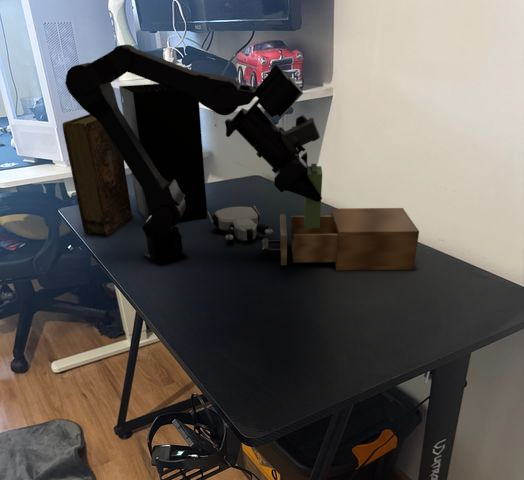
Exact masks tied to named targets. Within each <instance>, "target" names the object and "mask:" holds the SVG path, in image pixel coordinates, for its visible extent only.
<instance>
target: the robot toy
mask: <svg viewBox="0 0 524 480" xmlns="http://www.w3.org/2000/svg"><path fill="white" fill-rule="evenodd" d="M207 216H208V217H209V220H210V223H211V224H213V225H214V226H215V227H216V228H218V229H219V230H221V231H225V236H224V237H225V240H226V241H227V240H229V241H233V240H235V239H234V238H236V239H238V241H239V242H240V241H241V242H243V241H251V240H255V239H256V237H257V234H258V233H259V234H261V235H263V236H264V235H265V236H266V235H269V236H270V235H271V234H273V233H274V231H273V229H272V228H269V226H268V225H266V224H263V223H261V224H258V223H259V222H260V219H261V214H260V213H259V210H258V209H257V207H256V205H253V207H250V206H229V207H223V208H221V209H217V210H216V211H215V212H214V214H213V215H212V216H211V215H210V212H209V211H207Z"/></svg>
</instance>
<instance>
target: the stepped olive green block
mask: <svg viewBox="0 0 524 480" xmlns="http://www.w3.org/2000/svg"><path fill="white" fill-rule="evenodd" d="M308 177H309V178H310V180H311V181H312V183H313V184H314V186H315V187H316V189H317V190H318V192H319V193H320V195H321V196H322V189H323V168H322V165H317V163H311V164H310V165H308ZM321 206H322V200H320V201H319V202H316V201H314V200H311V199H309V198H306V197H304V215H303V216H304V228H320V216H321V209H322V208H321Z"/></svg>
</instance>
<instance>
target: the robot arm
mask: <svg viewBox="0 0 524 480" xmlns="http://www.w3.org/2000/svg"><path fill="white" fill-rule="evenodd" d="M126 73H129V74H132V75H135V76H138V77H140V78H143V79H146V80H148V81H151V82H154V83H155V84H161V85H164V86H167V87H169V88H172V89H175V90H177V91H180V92H183V93H185V94H188V95H189V96H191V97H193V98H194V99H196V100H197V101H198V102H199V104H200V105H202V106H204V107H205V108H207V109H209V110H211V111H212V112H214V113H215V114H217V115H220V116H228V115H231V114H233V113H235V112H236V111H237V109H238V108H239V107H242V108H241V109H240V110H239V111H238V112H237V113H236V115H234V117H232V118H231V119H230V118H227V119H225V121H224V126H225V136H226V137H227V138H229V137H231V136H232V135H233V134H234V132H237V133H238V134H239V135H240V136H241V137H242V138H243V139H244V140H245V141H246V142H247V143H248V145H250V146H251V147H252V148H253V149H254V150H255V151H256V153H255V154H256V156H258V158H259V159H261V158H262V159H263V160H264V161H265V162H266V163H267V164H268V165H269V166H270V167H271V171H272V172H273V173H274V179H273V180H274V181H273V182H274V187H275V188H277V190H278V191H279V192H280V193H283V192H289V193H293V194H296V195H298V196H301V197H303V198H305V197H306V198H309V199H311V200H314V201H316V202H319V201H320V200H321V201H322V200H323V197H322V194H321V195H320V193H319V192H318V190H317V189H316V187H315V186H314V184H313V183H312V181H311V180H310V178H309V177H308V166H309V164H308V151H306V149H307V148H306V146H305V145H307V144H308V143H311V142H315V141H317V140H319V139H320V138H321V135H320V131H319V128H318V126H317V124H316V120H315V119H314V117H309V118H307V117H306V116H305V115H304V114H302V115H299V116H298V117H296V118H295V125H294V126H293V125H292V127H291V128H289V129H288V130H285V128H283V127H282V126H277V125H276V124H275V123H274V122H273V121H272V119H270V117H271V118H274V117H276V116H278V117H280V118H282V117H283V116H284V115H285V114H286V113H287V112H288V111H289V110H290V108H291V107H292V106H294V104H295V103H296V102H297V101H298V100H299V99H300V98H301V97H302V95H303V94H304V92H303V90H302V89H301V87H300V86H299V84H298V83H296V81H295V80H294V79H293V78H292V77H291V76H288V74H287V73H286V72H285V71H284V70H283V69H282V68H281V67H280V66H279V65H278V64H274V66H273V67H272V68H271V69H270V71H269V72H268V74H267V75H266V76H265V78H264V79H263V80H262V81H261V82H260V83H259V85H257V86H253V85H246V84H241V83H240V82H239V81H238V80H237V79H236V78H234V77H232V76H229V75H222V74H216V73H208V72H202V71H196V70H192V69H190V68H187V67H185V66H182V65H179V64H177V63H174V62H171V61H169V60H167V59H164V58H161V57H159V56H156V55H154V54H151V53H148V52H145V51H143V50H141V49H137V48H136V47H135V46H133V45H131V44H128V43H127V44H120V45H116V46H115V47H114V48H113V49H112V50H111V51H109V52H107V53H106V54H104V55H102V56H100V57H99V58H97V59H95V60H93V61H91V62H84V63H81V64H75V65H74V66H73V65H72V66H71V67H70V68H69V69H68V70H67V72H66V74H65V83H64V84H65V87H66V90H67V92H68V93H69V94H70V96H71V97H72V98H73V99H74V100H75V101H76V103H77V104H78V105H79V106H80V107H81V108H82V109H83V110H84V111H85V112H86V113H88V114H90V115H92V116H93V117H94V118H95V119H97V120H98V122H99V123H100V124H101V126H102V127H103V129H104V130H105V132H106V134H107V135H108V137H109V138H110V140H111V141H112V143H113V144H114V146H115V147H116V149H117V150H118V152H119V153H120V155H121V157H122V158H123V160H124V164H126V166H127V167H128V169H129V171H130V172H131V174H132V173H133V175H134V176H135V178H136V180H137V181H138V183H139V184H140V186H141V187H142V189H143V193H144V196H145V200H146V204H147V207H148V209H149V211H150V213H151V216H150V217H149V219H148V220H146V221H145V222H144V224H143V225H142V227H141V229H142V231H143V233H144V235H145V238H146V244H147V253H145V254H144V257H145V258H146V259H149V260H150V261H152V262H154V263H156V264H157V265H160V266H162V265H166V264H169V263H172V262H175V261H178V260H181V259H184V258H186V254H185V253H183V242H182V234H181V233H180V229H179V227H178V226H176V225H178V223H180V222H179V220H180V218H181V217H182V215H183V213H184V212H185V208H186V202H185V200H184V197H185V194H184V193H182V192H181V190H180V189H179V187H178V184H177V182H176V180H175V179H173V180H172V181H171V182H168V181H167V180H166V179H164V178H163V177H162V176H161V175H160V173H159V172H158V170H157V169H156V167H155V165H154V164H153V162H152V161H151V159H150V157H149V156H148V154H147V153H146V151H145V149H144V148H143V146H142V145H141V143H140V142H139V140H138V138H137V137H136V135H135V134H134V132H133V130H132V129H131V127H130V126H129V124H128V122H127V121H126V119H125V118H124V116H123V112H122V111H121V109H120V107H119V104H118V100H117V97H116V92H115V89H114V88H113V87H114V86H113V84H112V83H113V82H114V81H116V80H118V79H119V78H120V77H123V75H125V74H126ZM255 98H257V100H256V101H254V103H253V104H252V105H251V106H250V107H249V108H248V109H245V108H243V106H245V105H246V106H247V105H250V104H251V103H252V102H253V100H254V99H255ZM258 105H260V106H261V107H259V106H258ZM261 108H262V109H263V110H264V111H265V112H266V113H267V114H266V113H265V112H264V111H263V110H262V109H261ZM269 116H270V117H269ZM305 151H306V152H305ZM301 152H304V153H303V154H302V155H300V153H301Z"/></svg>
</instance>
